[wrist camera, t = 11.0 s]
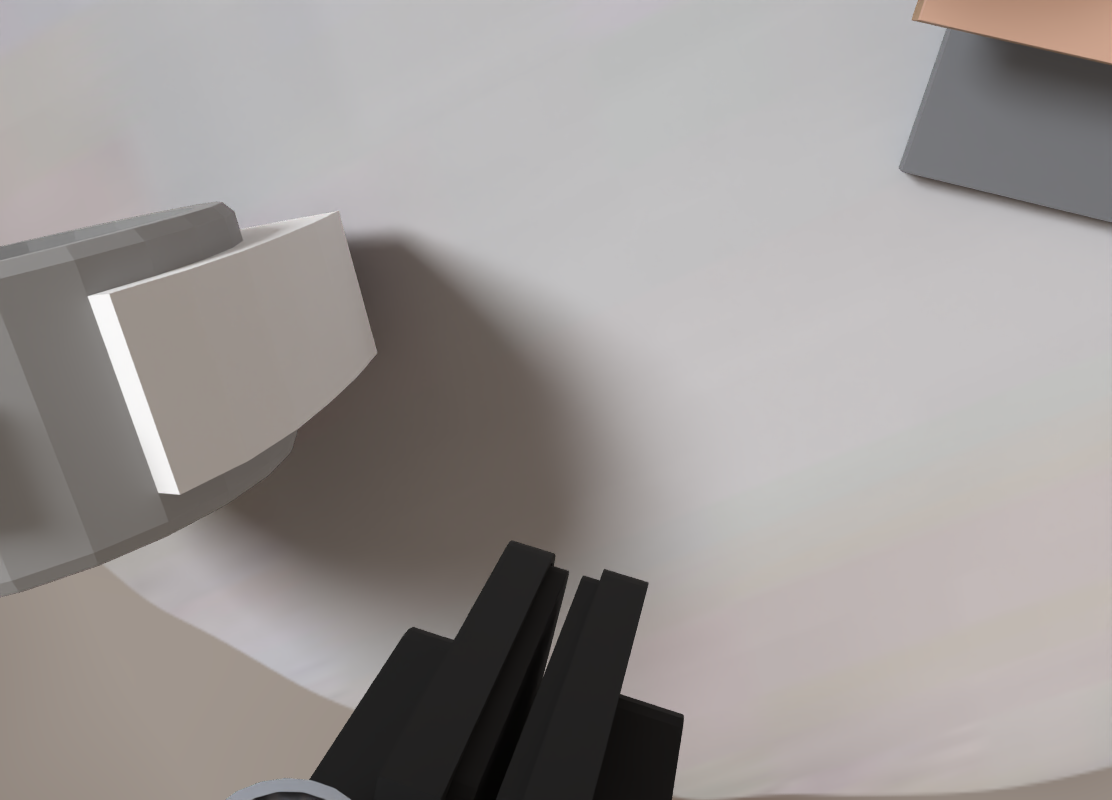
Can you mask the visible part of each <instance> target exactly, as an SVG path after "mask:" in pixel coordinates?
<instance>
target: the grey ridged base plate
mask: <svg viewBox="0 0 1112 800" xmlns="http://www.w3.org/2000/svg"><path fill="white" fill-rule="evenodd" d="M899 169H900V170H901V171H902V172H906V173H910V174H914V175H918V176H922V177H926V178H930V179H935V180H939V181H943V182H947V183H951V184H955V185H959V186H963V187H968V188H972V189H976V190H980V191H984V192H988V193H992V194H997V195H1001V196H1005V197H1009V198H1013V199H1017V200H1021V201H1025V202H1030V203H1034V204H1038V205H1042V206H1046V207H1050V208H1054V209H1059V210H1063V211H1067V212H1071V213H1075V214H1079V215H1083V216H1087V217H1092V218H1096V219H1100V220H1104V221H1108V222H1112V65H1108V64H1104V63H1099V62H1095V61H1091V60H1086V59H1082V58H1077V57H1073V56H1068V55H1064V54H1060V53H1055V52H1051V51H1046V50H1042V49H1037V48H1033V47H1029V46H1024V45H1020V44H1015V43H1011V42H1006V41H1002V40H998V39H993V38H989V37H984V36H980V35H975V34H971V33H966V32H962V31H958V30H953V29H949V28H947V29H946V32H945V35H944V38H943V41H942V44H941V47H940V50H939V53H938V56H937V58H936V61H935V64H934V67H933V70H932V73H931V76H930V79H929V82H928V85H927V88H926V90H925V93H924V96H923V99H922V102H921V105H920V108H919V111H918V114H917V117H916V120H915V122H914V125H913V128H912V131H911V134H910V137H909V140H908V143H907V146H906V149H905V152H904V154H903V157H902V160H901V163H900V166H899Z"/></svg>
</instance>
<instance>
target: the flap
mask: <svg viewBox="0 0 1112 800" xmlns="http://www.w3.org/2000/svg"><path fill="white" fill-rule="evenodd" d="M912 20H913V21H918V22H922V23H927V24H931V25H935V26H940V27H944V28H949V29H953V30H958V31H962V32H966V33H971V34H975V35H980V36H984V37H989V38H993V39H998V40H1002V41H1006V42H1011V43H1015V44H1020V45H1024V46H1029V47H1033V48H1037V49H1042V50H1046V51H1051V52H1055V53H1060V54H1064V55H1068V56H1073V57H1077V58H1082V59H1086V60H1091V61H1095V62H1099V63H1104V64H1108V65H1112V0H918V2H917V5H916V8H915V11H914V14H913V17H912Z"/></svg>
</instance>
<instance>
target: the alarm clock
mask: <svg viewBox="0 0 1112 800" xmlns="http://www.w3.org/2000/svg"><path fill="white" fill-rule="evenodd" d="M376 354H377V349H376V346H375V342H374V338H373V335H372V331H371V327H370V324H369V320H368V317H367V313H366V309H365V306H364V302H363V298H362V295H361V291H360V287H359V284H358V280H357V276H356V273H355V269H354V265H353V262H352V258H351V254H350V251H349V247H348V243H347V240H346V236H345V232H344V229H343V225H342V221H341V218H340V214H339V211H335V212H330V213H324V214H319V215H313V216H308V217H302V218H297V219H291V220H286V221H281V222H275V223H270V224H264V225H259V226H254V227H248V228H243V229H240V228H239V225H238V222H237V218H236V215H235V212H234V211H233V210H232V209H230V208H229V207H228V206H226V205H225V204H224V203H223V202H211V203H204V204H198V205H192V206H187V207H182V208H176V209H171V210H166V211H161V212H156V213H151V214H146V215H141V216H136V217H131V218H126V219H122V220H117V221H112V222H108V223H103V224H98V225H94V226H89V227H84V228H80V229H75V230H71V231H66V232H62V233H57V234H53V235H48V236H44V237H39V238H35V239H30V240H26V241H21V242H17V243H13V244H8V245H4V246H0V597H3V596H7V595H11V594H15V593H19V592H23V591H26V590H29V589H32V588H35V587H38V586H41V585H44V584H47V583H50V582H53V581H55V580H58V579H61V578H64V577H67V576H70V575H73V574H76V573H79V572H82V571H85V570H88V569H91V568H94V567H96V566H99V565H102V564H104V563H106V562H109V561H111V560H113V559H116V558H118V557H120V556H123V555H125V554H127V553H130V552H132V551H134V550H137V549H139V548H141V547H144V546H146V545H148V544H151V543H153V542H155V541H158V540H160V539H162V538H165V537H167V536H169V535H170V534H172V533H174V532H176V531H178V530H180V529H182V528H184V527H185V526H187V525H189V524H191V523H193V522H195V521H197V520H199V519H200V518H202V517H204V516H206V515H208V514H210V513H212V512H214V511H215V510H217V509H219V508H221V507H223V506H224V505H226V504H228V503H229V502H231V501H232V500H234V499H235V498H237V497H238V496H240V495H241V494H242V493H244V492H245V491H247V490H248V489H250V488H251V487H253V486H254V485H255V484H257V483H258V482H260V481H261V480H263V479H264V478H265V477H267V476H268V475H270V474H271V472H272V471H273V470H274V469H275V468H276V467H277V466H278V465H279V464H280V463H281V462H282V461H283V460H284V459H285V458H286V457H287V456H288V455H289V454H290V453H291V451H292V448H293V445H294V442H295V439H296V435H297V430H298V429H299V428H300V427H301V426H302V425H303V424H305V423H306V422H307V421H308V420H310V419H311V418H312V417H313V416H314V415H316V414H317V413H318V412H319V411H320V410H322V409H323V408H324V407H325V406H327V405H328V404H329V403H330V402H331V401H332V400H333V399H334V398H335V397H336V396H338V395H339V394H340V393H341V392H342V391H343V390H344V389H345V388H346V387H347V386H348V385H349V384H350V383H351V382H352V381H353V380H355V379H356V378H357V377H358V376H359V374H360V373H361V372H362V371H363V370H364V368H365V367H366V366H367V365H368V364H369V363H370V361H371V360H372V359H373V358H374V357H375V355H376Z"/></svg>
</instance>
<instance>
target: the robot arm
mask: <svg viewBox="0 0 1112 800" xmlns="http://www.w3.org/2000/svg"><path fill="white" fill-rule="evenodd" d="M554 561H555V554H554V553H551V552H548V551H544V550H541V549H538V548H535V547H531V546H528V545H525V544H521V543H518V542H515V541H510V542H509V544H508V545H507V547H506V549H505V550H504V552H503V554H502V556H501V557H500V559H499V561H498V563H497V565H496V566H495V568H494V570H493V572H492V573H491V575H490V577H489V579H488V581H487V582H486V584H485V586H484V588H483V589H482V591H481V593H480V595H479V597H478V598H477V600H476V602H475V604H474V606H473V607H472V609H471V611H470V613H469V614H468V616H467V618H466V620H465V622H464V623H463V625H462V627H461V629H460V630H459V632H458V634H457V636H456V638H455V639H454V640H452V639H449V638H446V637H442V636H439V635H436V634H433V633H430V632H427V631H424V630H421V629H418V628H415V627H412V628H410V629H408V631H407V632H406V633H405V634H404V636H403V637H402V638H401V640H400V642H399V643H398V645H397V646H396V648H395V649H394V651H393V652H392V654H391V655H390V657H389V658H388V660H387V661H386V663H385V664H384V666H383V668H382V669H381V671H380V672H379V674H378V675H377V677H376V678H375V680H374V681H373V683H372V684H371V686H370V687H369V689H368V691H367V692H366V694H365V695H364V697H363V698H362V700H361V701H360V703H359V704H358V706H357V707H356V709H355V710H354V712H353V714H352V715H351V717H350V718H349V720H348V721H347V723H346V724H345V726H344V727H343V729H342V731H341V732H340V733H339V735H338V737H337V738H336V740H335V741H334V743H333V744H332V746H331V747H330V749H329V750H328V752H327V753H326V755H325V756H324V758H323V760H322V761H321V763H320V764H319V766H318V767H317V769H316V770H315V772H314V773H313V775H312V776H311V778H310V779H309V780H303V779H291V778H283V779H276V780H270V781H263V782H259V783H256V784H254V785H251V786H249V787H246V788H244V789H241V790H239V791H237V792H235V793H234V794H232V795H231V796H230V797H228V798H227V799H226V800H672V794H673V788H674V781H675V775H676V769H677V762H678V756H679V749H680V743H681V736H682V730H683V722H684V716H683V714H680V713H677V712H674V711H671V710H667V709H664V708H661V707H658V706H655V705H652V704H649V703H646V702H643V701H640V700H637V699H634V698H630V697H627V696H624V695H621V694H620V691H621V688H622V684H623V680H624V676H625V672H626V668H627V665H628V661H629V657H630V653H631V649H632V645H633V641H634V638H635V634H636V630H637V626H638V622H639V618H640V615H641V611H642V607H643V603H644V599H645V595H646V591H647V588H648V584H649V583H648V582H645V581H642V580H639V579H635V578H632V577H629V576H626V575H622V574H619V573H616V572H613V571H609V570H606V569H604V570H603V573H602V576H601V579H600V581H599V580H596V579H593V578H590V577H586V576H582V579H581V581H580V584H579V586H578V589H577V591H576V594H575V597H574V599H573V602H572V604H571V607H570V609H569V612H568V615H567V617H566V620H565V622H564V625H563V627H562V630H561V633H560V635H559V638H558V640H557V643H556V645H555V648H554V651H553V653H552V656H551V658H550V661H549V664H548V666H547V669H546V671H545V667H546V663H547V659H548V655H549V651H550V647H551V643H552V639H553V635H554V631H555V627H556V623H557V619H558V616H559V612H560V608H561V604H562V600H563V596H564V592H565V588H566V584H567V580H568V575H569V571H567V570H564V569H561V568H557V567H554ZM544 671H545V674H544ZM543 675H544V676H543Z"/></svg>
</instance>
